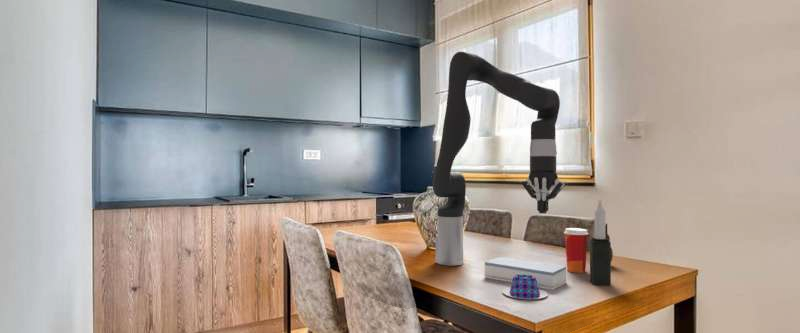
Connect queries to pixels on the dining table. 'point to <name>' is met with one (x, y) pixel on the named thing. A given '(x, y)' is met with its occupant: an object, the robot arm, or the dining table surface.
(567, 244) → the paper cup
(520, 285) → the pudding
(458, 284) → the dining table surface
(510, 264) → the lid
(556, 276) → the grey lidded box
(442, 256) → the robot arm
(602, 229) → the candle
